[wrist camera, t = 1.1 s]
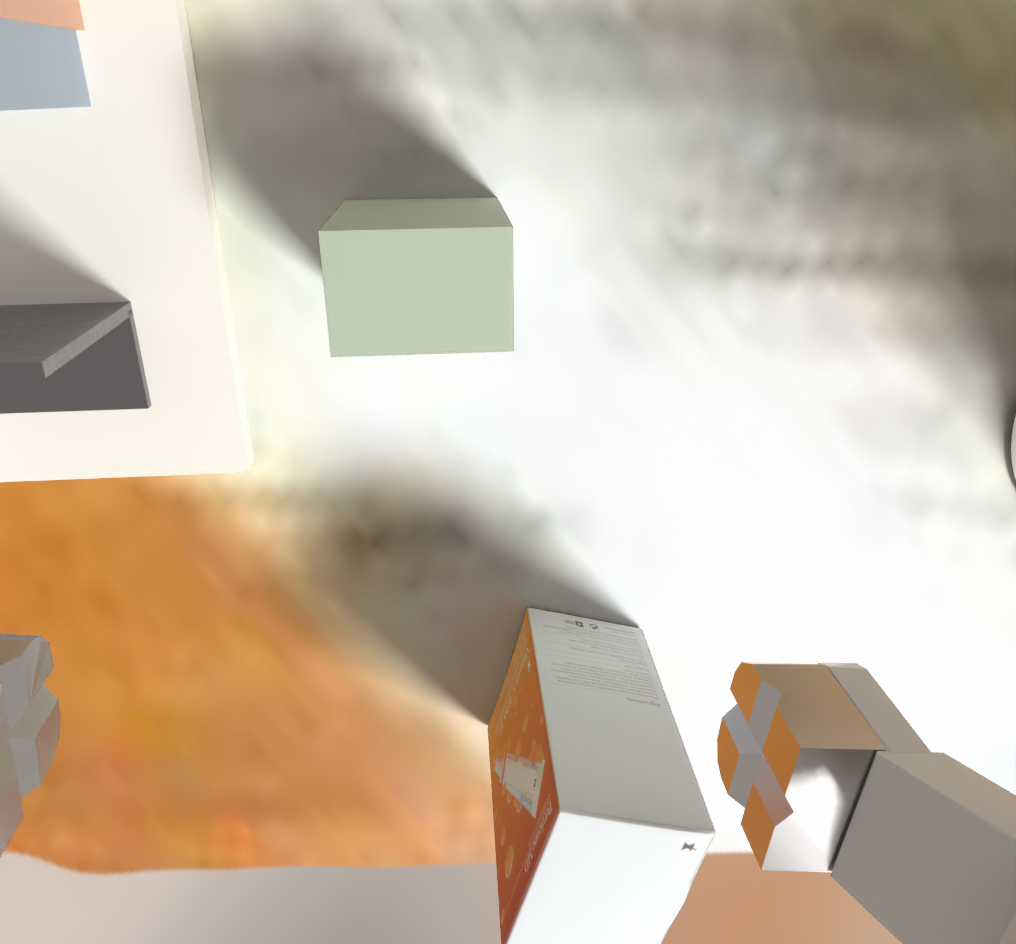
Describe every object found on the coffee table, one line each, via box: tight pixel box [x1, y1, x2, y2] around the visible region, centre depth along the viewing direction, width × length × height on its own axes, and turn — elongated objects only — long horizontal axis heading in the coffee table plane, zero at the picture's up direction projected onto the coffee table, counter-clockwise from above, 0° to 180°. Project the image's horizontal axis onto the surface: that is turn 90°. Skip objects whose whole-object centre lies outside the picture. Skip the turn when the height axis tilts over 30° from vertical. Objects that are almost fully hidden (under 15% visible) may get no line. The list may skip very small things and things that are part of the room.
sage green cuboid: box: [318, 197, 514, 357], centre depth 30 cm, size 6×4×8 cm, turn 91°
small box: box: [488, 608, 715, 944], centre depth 37 cm, size 8×6×13 cm
